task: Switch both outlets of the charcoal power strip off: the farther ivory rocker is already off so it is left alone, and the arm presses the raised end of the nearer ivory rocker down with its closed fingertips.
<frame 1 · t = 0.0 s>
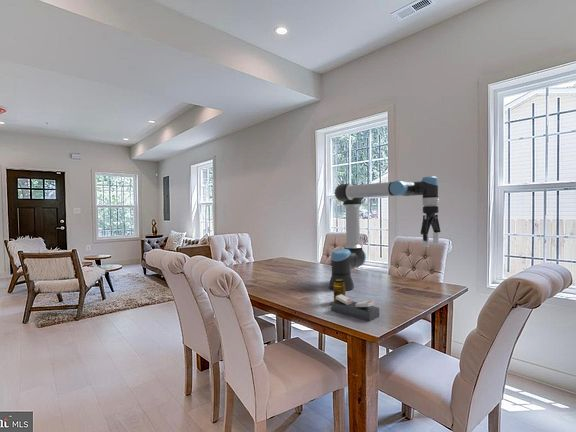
hand: (431, 245, 162), 28 cm above the table, tool pointing down, fingers open, 13 cm apart
rocker 2: (364, 304, 138), point 6 cm above the table, hinge at -13.0°
condiment: (340, 302, 160), on the table
rocker 1: (344, 299, 146), point 6 cm above the table, hinge at 13.0°
power strip: (354, 313, 142), on the table
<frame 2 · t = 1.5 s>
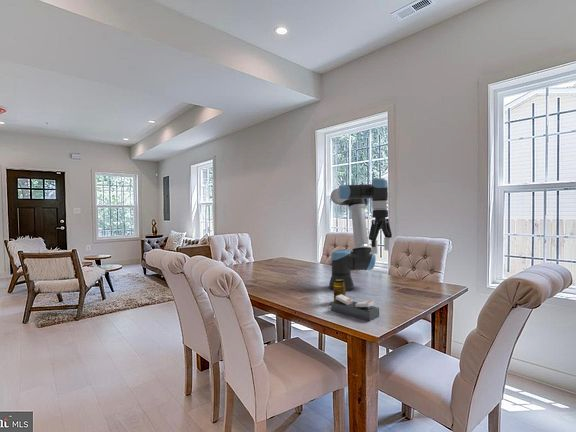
hand: (381, 252, 152), 27 cm above the table, tool pointing down, fingers open, 13 cm apart
nothing on the table moved.
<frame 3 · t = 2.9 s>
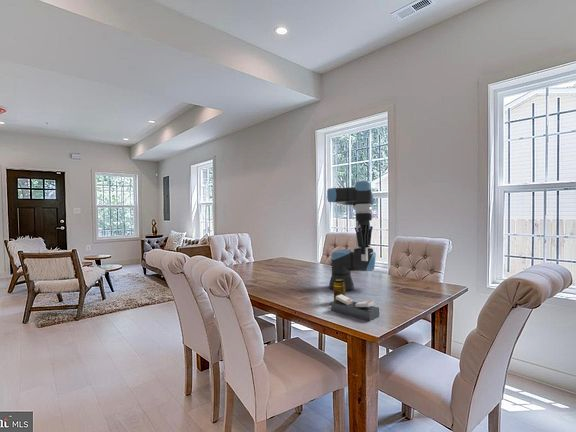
hand: (364, 260, 149), 23 cm above the table, tool pointing down, fingers closed
nothing on the table moved.
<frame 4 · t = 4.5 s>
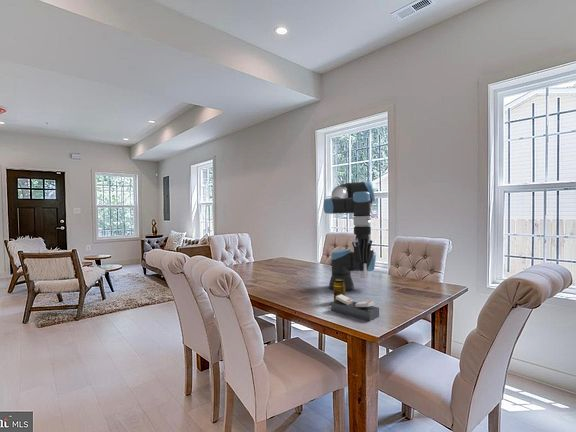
hand: (363, 277, 138), 17 cm above the table, tool pointing down, fingers closed
nothing on the table moved.
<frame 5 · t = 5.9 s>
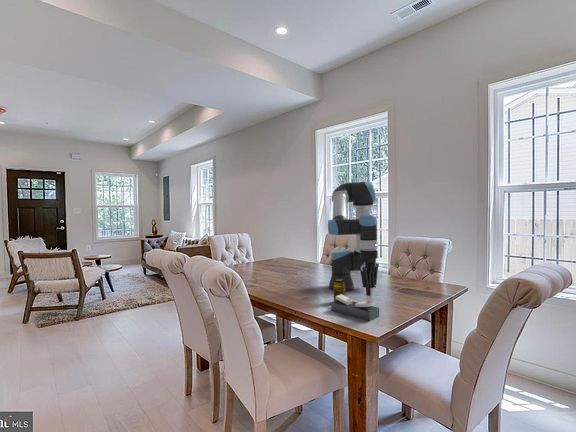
hand: (370, 302, 135), 7 cm above the table, tool pointing down, fingers closed, pressing on rocker 2
rocker 2: (364, 304, 138), point 6 cm above the table, hinge at -11.8°, touching gripper
everything else where it was.
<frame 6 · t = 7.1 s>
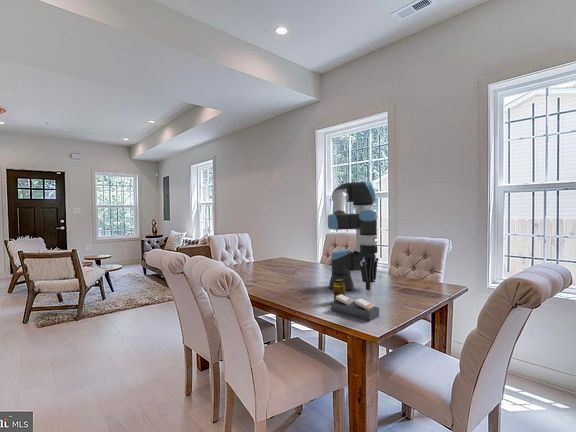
hand: (369, 296, 136), 9 cm above the table, tool pointing down, fingers closed
rocker 2: (364, 304, 138), point 6 cm above the table, hinge at 14.4°, touching power strip
everything else where it was.
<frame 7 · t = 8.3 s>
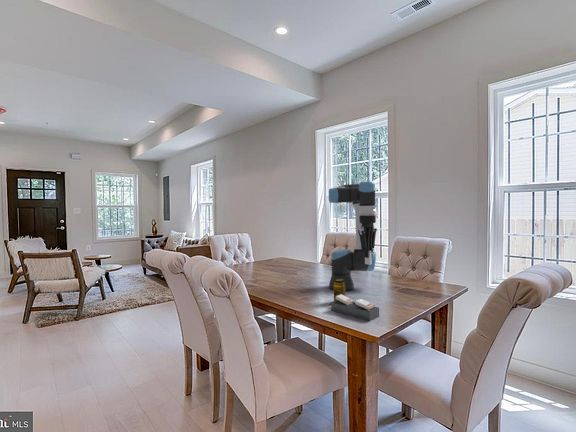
hand: (368, 264, 145), 22 cm above the table, tool pointing down, fingers closed
rocker 2: (364, 304, 138), point 6 cm above the table, hinge at 10.8°
everything else where it was.
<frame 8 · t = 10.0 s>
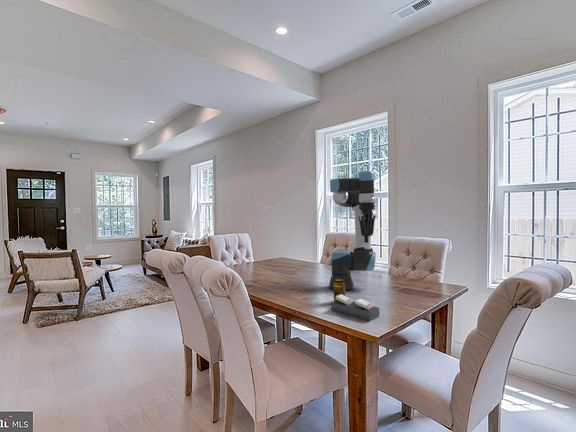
hand: (367, 248, 154), 28 cm above the table, tool pointing down, fingers closed
rocker 2: (364, 304, 138), point 6 cm above the table, hinge at 9.7°
everything else where it was.
at the end: rocker 2 at +10° (first picture: -13°); rocker 1 at +13° (first picture: +13°); condiment moved 0.3 cm from its start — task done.
